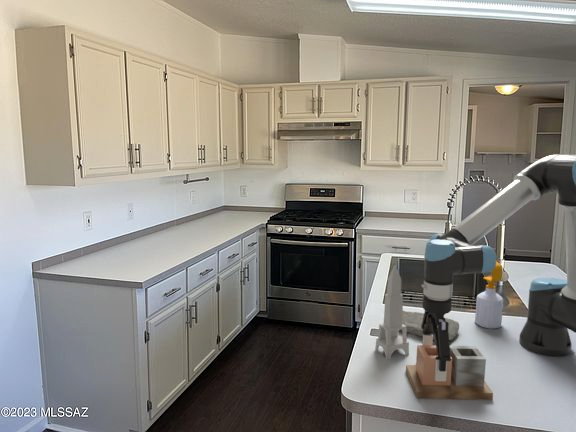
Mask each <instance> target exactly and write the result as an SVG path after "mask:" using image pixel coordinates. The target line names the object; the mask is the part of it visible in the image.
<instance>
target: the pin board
mask: <svg viewBox="0 0 576 432" xmlns="http://www.w3.org/2000/svg"><path fill="white" fill-rule="evenodd" d="M450 356H451V358H452V369H451V385H422V383H421V380H420V378H419V376H418V374H417V372H416V364H405V365H406V366H405V372H406V376H407V377H408V379H409V382H410V384H411V387H412V389H413V391H414V394H415V396H416V399H428V400H429V399H433V400H434V399H436V400H437V399H438V400H441V399H443V400H445V399H446V400H479V401H480V400H483V401H488V400H489V401H492V400H494V399H493V398H494V392H493V390H492V389H491V388H490V387H489V385H488V384H487V383H486V381H485V376H486V363H487V359H486V357H485V356H484V354H482V352H481V351H480V350H479V349H478V347H477V346H476V345H475V346H474V345H450Z"/></svg>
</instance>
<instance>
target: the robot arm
mask: <svg viewBox="0 0 576 432" xmlns="http://www.w3.org/2000/svg"><path fill="white" fill-rule="evenodd" d="M512 180H513V181H512V182H511V183H510V184H508V185H507V186H505V187H504V188H503V189H502V190H500V191H499V192H498V193H496V194H495V195H494V196H493V197H492V198H490V199H488V201H486V202H485V203H484V204H482V205H481V206H480V207H478V208H477V209H476V210H474V211H473V212H471V214H469V215H468V216H467V217H465V218H464V219H463V220H461V221H460V222H459V223H458V224H456V225H455V226H454V227H453V228H451V229H450V230H448V231H447V232H445V233H443V232H442V233H441V232H439V233H434V234H433V235H432V236H431V237H430V238H429V240H428V241H427V242H426V245H425V249H424V270H423V274H424V275H423V277H424V278H423V284H421V288H423V296H422V308H423V310H424V312H423V313H424V317H423V321H422V325H421V328H422V329H423V334H424V335H423V337H422V345H433V343H434V342H435V345H436V349H437V356H438V357H435V360H436V369H435V381H446V373H447V361H451V357H450V346H451V345H450V340H449V333H448V325H449V324H448V322H446V321H445V318H446V317H445V315H446V314H449V313H450V312H451V311H452V304H453V301H452V297H453V289H454V287H453V286H454V275H467V274H468V275H473V274H480V275H481V274H485V273H490V272H492V270H493V269H494V268H495V266H496V261H497V254H496V252H495V250H494V248H493V247H491V246H489V245H485V244H484V245H481V244H479V245H475V244H476V243H477V242H478V241H480V240H481V239H482V238H484V237H485V236H486V235H487V234H489V233H490V232H491V231H493V230H494V229H495V228H497V227H498V226H499V225H501V224H502V223H503V222H504V221H506V220H507V219H509V218H510V217H511V216H512V215H514V214H515V213H516V212H517V211H519V210H521V208H522V207H524V206H525V205H527V204H528V203H529V202H530V201H536V200H539V199H540V198H542V197H543V196H545V195H548V194H558V205H559V206H560V207H562V209H564V220H565V222H564V223H565V225H564V226H565V254H566V257H565V259H566V279H563V278H555V277H540V278H535V279H533V280H532V281H530V282H531V283H530V287H529V290H528V291H529V292H528V303H527V304H528V306H527V318H526V322H525V323H524V325H523V327H522V329H521V332H520V334H519V343H520V345H521V346H523V347H524V348H525V349H527V350H529V351H532V352H534V353H536V354H537V353H538V354H541V355H545V356H550V357H563V356H568V355H570V354H571V352H572V345H573V344H572V341H571V336H570V333H569V330H570V331H572V332H573V333H575V334H576V154H565V153H555V154H551V155H548V156H545V157H542V158H540V159H538V160H536V161H534V162H533V163H531V164H529V165H528V166H527V167H525V168H524V169H522V170H521V171H520V172H518V173H517V174H516V175H514V177H513V179H512ZM430 334H434V335H435V340H433V335H430ZM433 341H434V342H433Z"/></svg>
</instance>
